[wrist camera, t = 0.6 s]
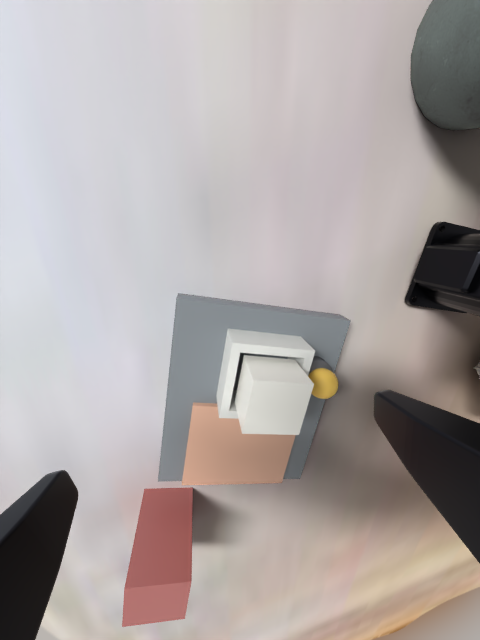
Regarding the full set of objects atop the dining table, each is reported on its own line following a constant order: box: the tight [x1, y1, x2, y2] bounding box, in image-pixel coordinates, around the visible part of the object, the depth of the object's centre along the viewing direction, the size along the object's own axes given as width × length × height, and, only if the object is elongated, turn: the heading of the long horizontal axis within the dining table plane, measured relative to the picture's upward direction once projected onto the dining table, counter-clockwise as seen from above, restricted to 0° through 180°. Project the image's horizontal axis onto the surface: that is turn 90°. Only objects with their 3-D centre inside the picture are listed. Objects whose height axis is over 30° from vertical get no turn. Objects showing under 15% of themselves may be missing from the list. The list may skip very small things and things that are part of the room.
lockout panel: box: [158, 293, 351, 485], centre depth 20 cm, size 13×16×4 cm
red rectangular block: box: [122, 488, 193, 627], centre depth 21 cm, size 4×4×7 cm
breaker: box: [235, 355, 314, 435], centre depth 16 cm, size 4×4×3 cm
